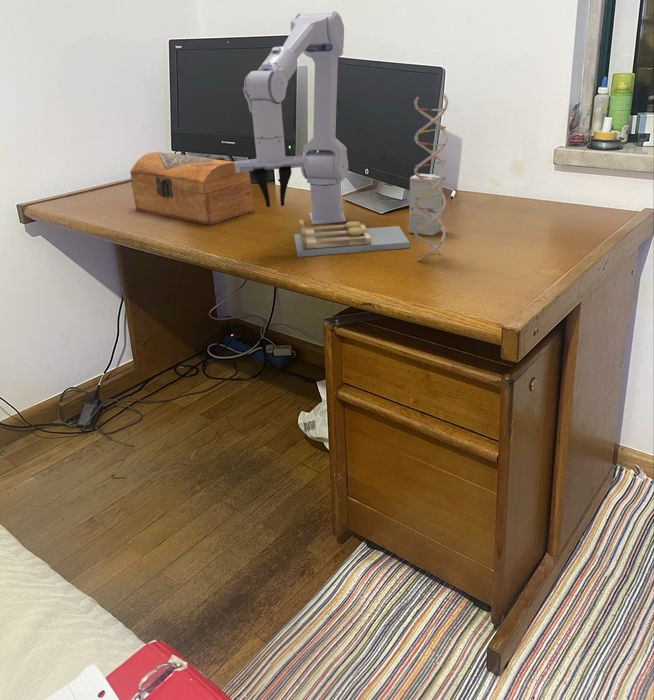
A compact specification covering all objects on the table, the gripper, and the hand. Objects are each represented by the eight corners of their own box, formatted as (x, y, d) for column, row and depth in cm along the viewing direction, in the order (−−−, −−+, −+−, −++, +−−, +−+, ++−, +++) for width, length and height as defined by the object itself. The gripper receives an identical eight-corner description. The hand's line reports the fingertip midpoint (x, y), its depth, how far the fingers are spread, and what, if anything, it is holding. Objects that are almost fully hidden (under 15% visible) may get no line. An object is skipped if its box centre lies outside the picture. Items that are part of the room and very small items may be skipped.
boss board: (294, 239, 150) (293, 223, 148) (398, 231, 151) (398, 214, 149) (297, 257, 139) (296, 239, 137) (409, 247, 140) (409, 230, 139)
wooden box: (132, 211, 181) (122, 158, 175) (182, 197, 192) (174, 147, 186) (204, 228, 163) (196, 169, 157) (255, 212, 174) (249, 156, 168)
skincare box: (408, 233, 149) (407, 177, 144) (416, 227, 153) (416, 173, 147) (434, 236, 146) (435, 179, 141) (442, 230, 150) (443, 174, 145)
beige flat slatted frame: (300, 233, 149) (299, 219, 147) (363, 228, 150) (363, 214, 148) (303, 249, 139) (302, 233, 138) (371, 243, 140) (370, 228, 138)
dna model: (433, 250, 138) (435, 91, 125) (453, 258, 133) (457, 94, 120) (405, 256, 135) (404, 95, 122) (424, 265, 130) (426, 98, 117)
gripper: (231, 142, 130) (239, 213, 136) (307, 137, 131) (312, 207, 137) (232, 136, 136) (240, 204, 142) (305, 131, 137) (309, 198, 143)
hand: (275, 205), depth 140 cm, fingers closed
